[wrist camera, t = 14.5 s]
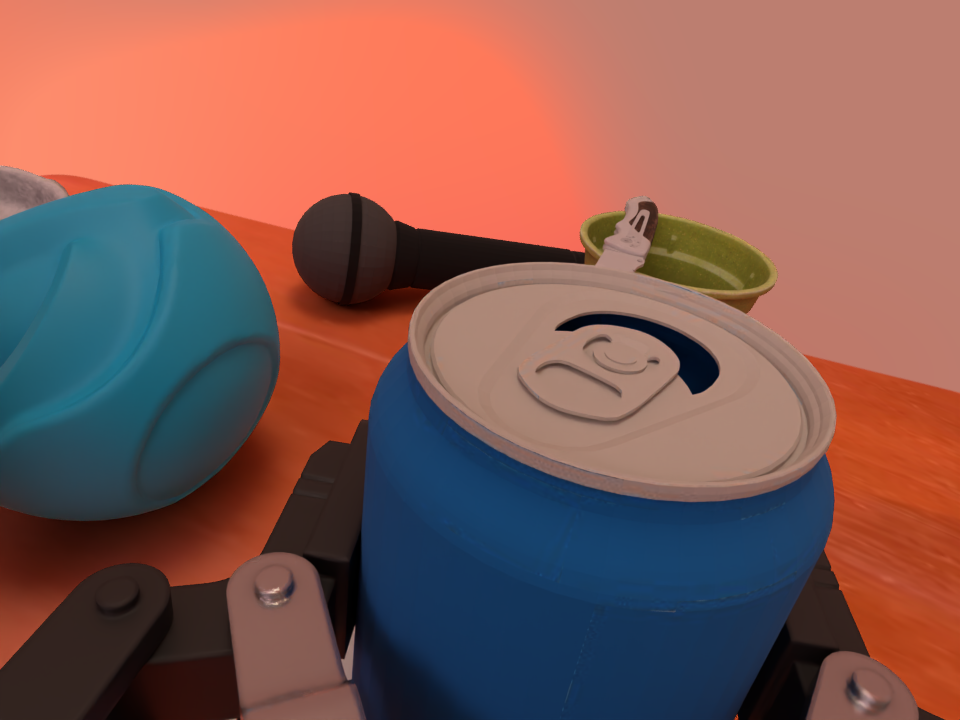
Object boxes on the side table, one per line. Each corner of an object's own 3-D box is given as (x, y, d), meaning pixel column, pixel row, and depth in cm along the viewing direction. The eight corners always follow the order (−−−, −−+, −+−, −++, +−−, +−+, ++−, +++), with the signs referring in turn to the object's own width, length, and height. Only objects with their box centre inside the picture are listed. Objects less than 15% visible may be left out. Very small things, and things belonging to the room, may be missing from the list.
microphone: (571, 285, 51) (288, 250, 45) (608, 211, 47) (299, 162, 41) (594, 351, 47) (285, 322, 41) (637, 277, 43) (296, 232, 36)
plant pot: (718, 374, 41) (769, 235, 37) (723, 472, 33) (789, 309, 29) (562, 336, 43) (593, 198, 38) (532, 420, 35) (566, 258, 30)
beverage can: (686, 807, 16) (918, 364, 10) (527, 1114, 12) (781, 637, 6) (470, 639, 19) (549, 225, 13) (276, 830, 15) (263, 325, 9)
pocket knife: (630, 188, 37) (668, 197, 37) (626, 204, 37) (663, 213, 37) (573, 293, 26) (626, 307, 25) (568, 314, 26) (621, 328, 26)
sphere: (-52, 427, 29) (-142, 146, 23) (227, 369, 35) (213, 136, 29) (-26, 649, 21) (-152, 307, 15) (328, 524, 27) (337, 246, 21)
